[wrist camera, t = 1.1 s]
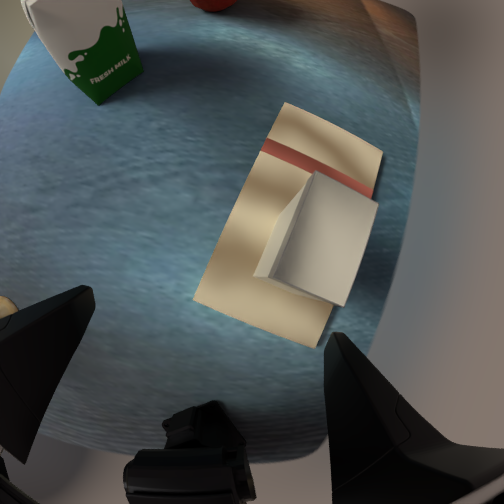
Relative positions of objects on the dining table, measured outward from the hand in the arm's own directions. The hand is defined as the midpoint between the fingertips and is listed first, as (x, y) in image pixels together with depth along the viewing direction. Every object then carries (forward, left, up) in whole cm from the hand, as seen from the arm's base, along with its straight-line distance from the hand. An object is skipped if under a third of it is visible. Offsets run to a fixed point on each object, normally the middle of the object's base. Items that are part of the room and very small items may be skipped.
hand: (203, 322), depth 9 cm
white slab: (0, -7, -15) cm, 16 cm away
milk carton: (+30, +1, -16) cm, 34 cm away
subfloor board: (+3, -10, -16) cm, 19 cm away
